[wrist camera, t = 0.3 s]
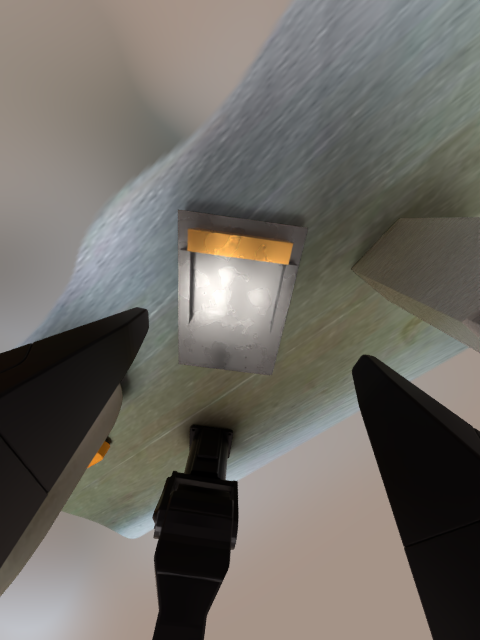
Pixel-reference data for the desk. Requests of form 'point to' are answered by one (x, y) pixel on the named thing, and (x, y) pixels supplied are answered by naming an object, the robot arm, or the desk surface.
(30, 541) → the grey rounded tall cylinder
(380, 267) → the block
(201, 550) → the robot arm
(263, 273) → the grey base plate
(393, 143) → the desk surface
